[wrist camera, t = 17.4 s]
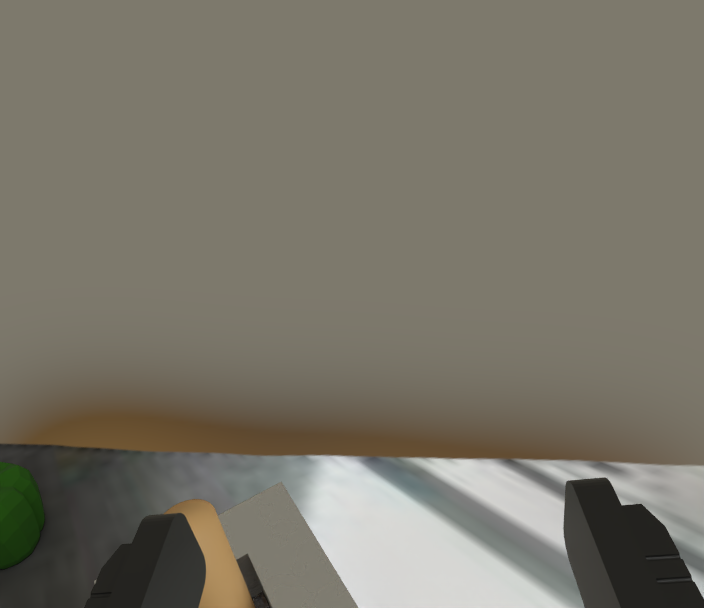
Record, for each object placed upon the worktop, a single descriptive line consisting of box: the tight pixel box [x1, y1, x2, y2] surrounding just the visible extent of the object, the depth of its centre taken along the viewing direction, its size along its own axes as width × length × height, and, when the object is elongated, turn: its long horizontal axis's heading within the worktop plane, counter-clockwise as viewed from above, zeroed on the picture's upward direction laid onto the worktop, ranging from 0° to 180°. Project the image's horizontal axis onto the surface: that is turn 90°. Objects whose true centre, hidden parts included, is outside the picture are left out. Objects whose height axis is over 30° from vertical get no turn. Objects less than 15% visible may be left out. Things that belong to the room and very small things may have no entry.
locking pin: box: [164, 499, 256, 608], centre depth 38 cm, size 4×4×14 cm
